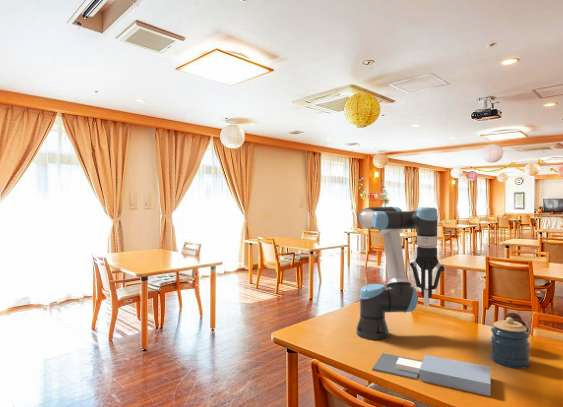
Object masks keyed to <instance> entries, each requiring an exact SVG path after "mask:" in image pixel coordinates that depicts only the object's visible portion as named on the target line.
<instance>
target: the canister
mask: <svg viewBox="0 0 563 407" xmlns="http://www.w3.org/2000/svg"><path fill="white" fill-rule="evenodd" d="M492 324H493V327H491V329H490V331H491V333H492V335H491V337H490V340H491V352H490V356H491V359H492V361H493V362H495V363H497V364H499V365H502V366H504V367H507V368H512V369H525V368H528V367H529V365H530V363H531V362H530V360H531V359H530V341H529V337H530V333H529V332H528V333H527V332H526V330H527V328H528V327H527V326H526V327H527V328H526V327H525V326H523V325H522V324H521V323H519V322H516V321H514V320H513V319H512V318H511V317H507V318H506V320H503V319H499V320H497V321H495V322H493V323H492Z"/></svg>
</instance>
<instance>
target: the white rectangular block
mask: <svg viewBox="0 0 563 407" xmlns="http://www.w3.org/2000/svg"><path fill="white" fill-rule="evenodd" d="M421 364H422V362H419V361H414V360H409V359H404V358H398V360H397V362H396V369H399V370H404V371H409V372H413V373H418V374H419V369H420V367H421Z"/></svg>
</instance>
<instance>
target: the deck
mask: <svg viewBox="0 0 563 407" xmlns="http://www.w3.org/2000/svg"><path fill="white" fill-rule="evenodd" d="M422 361H423V362H422V364H421V367H420V369H419V375H418V376H419V381H420V380H421V381H420V382H424V381H425V382H424V383H429V382H430V384H433V383H435V384H434V385H438V384H439V386H442V385H444V387H447V386H448V387H447V388H451V387H453V388H452V389H456V390H461V391H465V392H470V393H474V394H479V395H483V396H488V397H491V395H492V394H491V392H492V391H491V389H492V388H491V385H492V384H491V366H486V365H481V364H477V363H476V364H475V363H472V362H466V361H460V360H454V359H450V358H444V357H439V356H434V355H428V354H425V355H424V357H423V360H422Z"/></svg>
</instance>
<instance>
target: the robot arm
mask: <svg viewBox="0 0 563 407" xmlns="http://www.w3.org/2000/svg"><path fill="white" fill-rule="evenodd" d="M356 217H357V218H356V220H357V223H358V225H359V226H361V227H362V228H365V229H369V230H378V233H379V234H380V235H381V236H382V240H383V241H382V242H383V246H384V247H383V248H384V254H385V261H386V270H387V278H388V281H387V283H386V284H385V285H386V286H385V285H384V284H381V283H369V284H366V285H365V284H364V285H363V286H362V287H361V288H360V289H359V291H360V292H359V318H358V322H357V326H356V335H357V336H359V337H361V338H363V339H367V340H375V341H376V340H384V339H387V338H389V336H390V332H389V331H390V330H389V327H388V324H387V320H386V313H404V314H405V313H410V312H411V313H412V312H413V311H415V310H416V308H417V305H418V291H417V289H416V288H420V290H421V291H420V295H421V298H423V306H424V307H429V306H430V299H431V298H432V297H433V290H436V289H437V288H438V285H439V281H440V278H441V274H442V271H443V270H444V268H446V266H445V265H444V264H442V263H440V262H439V258H438V248H437V246H438V219H439V217H438V209H437V207H430V206H429V207H428V206H427V207H426V206H424V207H421V206H420V207H418V208H417V209H416V210H409V211H408V210H405V211H403V210H402V209H401V208H400V207H398V206H370V207H365V208H363V209H362V210H360V211H359V212H358V214H357V216H356ZM403 230H416V245H417V246H416V257H415V259H414V261H412V262H410V263H409V267H411V270H412V273H413V277H414V281H415V286H416V288H415V287H414V286H412V283H411V281H409V280H408V279H407V278H408V277H407V273H406V272H407V271H406V266H405V259H404V253H403V252H404V251H403V247H402V240H401V233H402V232H403ZM417 266H418V267H419V269H420V276H419V272H418V271H419V270H418V268H417ZM436 266H437V271H436V275H435V279H434V283H433V272H434V269H435V268H436ZM426 271H427V287H426Z"/></svg>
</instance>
